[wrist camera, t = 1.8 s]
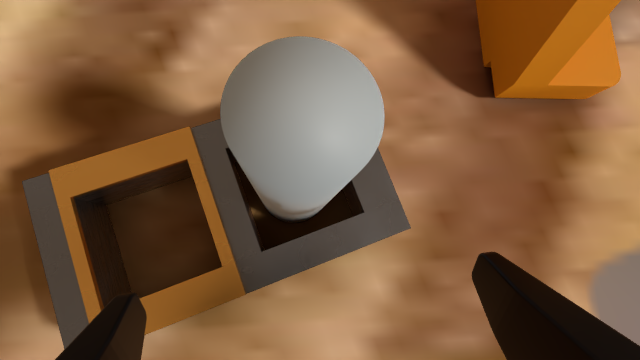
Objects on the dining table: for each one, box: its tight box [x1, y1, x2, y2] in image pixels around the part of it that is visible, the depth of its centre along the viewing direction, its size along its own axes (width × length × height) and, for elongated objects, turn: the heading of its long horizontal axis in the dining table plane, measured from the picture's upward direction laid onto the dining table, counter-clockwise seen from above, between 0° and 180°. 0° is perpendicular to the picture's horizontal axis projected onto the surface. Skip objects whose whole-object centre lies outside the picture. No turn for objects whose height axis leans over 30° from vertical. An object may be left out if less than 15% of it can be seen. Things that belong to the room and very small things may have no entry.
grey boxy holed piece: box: [22, 119, 411, 349], centre depth 18 cm, size 9×17×3 cm, turn 111°
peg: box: [220, 37, 384, 223], centre depth 14 cm, size 4×4×12 cm
